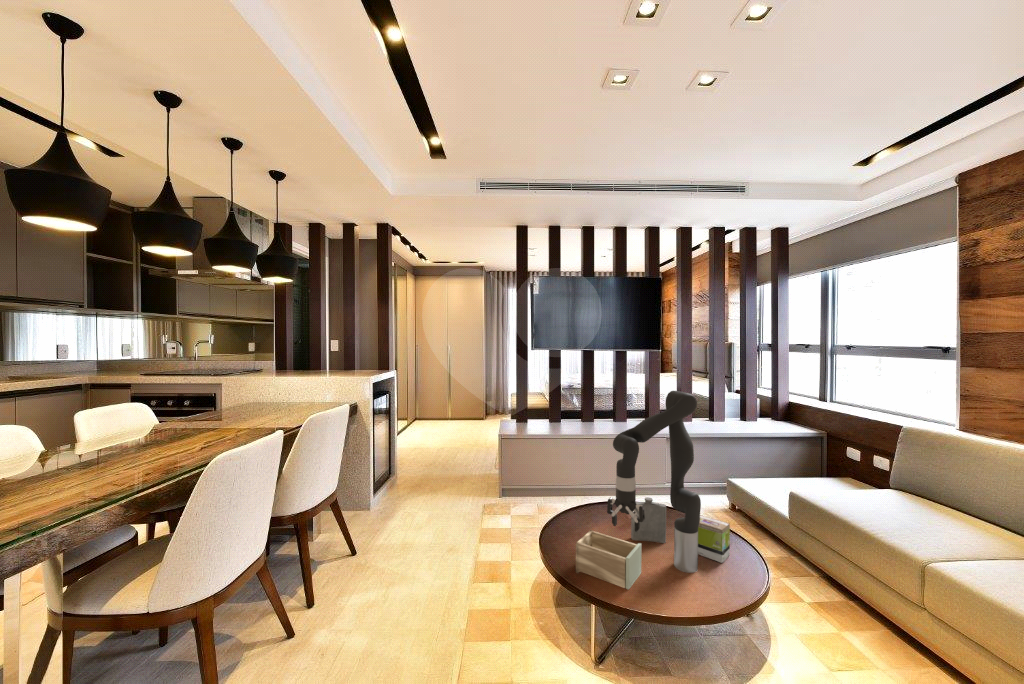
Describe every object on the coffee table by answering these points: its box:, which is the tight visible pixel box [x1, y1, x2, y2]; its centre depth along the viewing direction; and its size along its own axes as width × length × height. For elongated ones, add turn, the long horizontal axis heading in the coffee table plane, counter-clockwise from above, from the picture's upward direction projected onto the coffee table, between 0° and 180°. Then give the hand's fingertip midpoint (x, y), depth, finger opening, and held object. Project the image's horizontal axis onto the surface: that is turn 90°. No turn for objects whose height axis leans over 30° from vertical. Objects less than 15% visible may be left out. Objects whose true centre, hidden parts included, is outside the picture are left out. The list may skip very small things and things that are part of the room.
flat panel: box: [625, 542, 643, 590], centre depth 164 cm, size 14×1×12 cm, turn 144°
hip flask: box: [630, 496, 667, 544], centre depth 200 cm, size 16×4×20 cm, turn 78°
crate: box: [575, 529, 638, 589], centre depth 171 cm, size 14×21×12 cm, turn 54°
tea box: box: [698, 514, 731, 564], centre depth 187 cm, size 15×10×15 cm, turn 44°
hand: (625, 528), depth 162 cm, fingers open, 8 cm apart
